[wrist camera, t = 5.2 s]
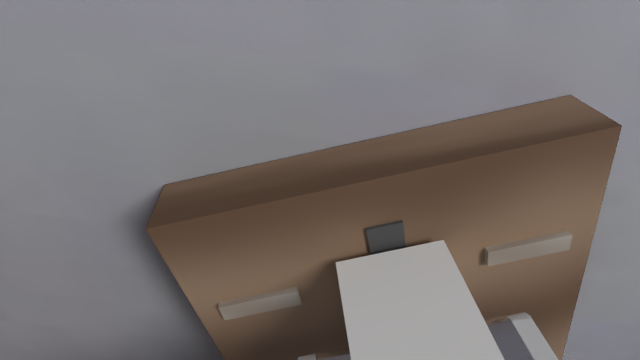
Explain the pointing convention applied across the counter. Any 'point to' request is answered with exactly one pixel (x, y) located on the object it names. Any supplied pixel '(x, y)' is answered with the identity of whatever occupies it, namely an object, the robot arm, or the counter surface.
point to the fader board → (392, 224)
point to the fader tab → (412, 307)
